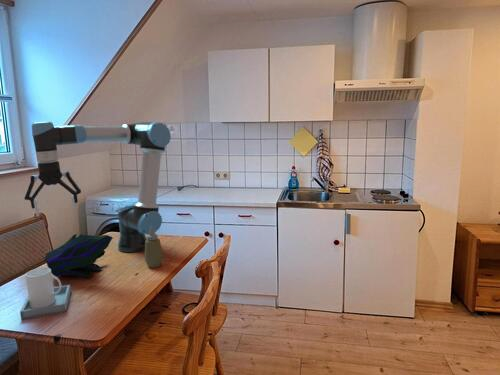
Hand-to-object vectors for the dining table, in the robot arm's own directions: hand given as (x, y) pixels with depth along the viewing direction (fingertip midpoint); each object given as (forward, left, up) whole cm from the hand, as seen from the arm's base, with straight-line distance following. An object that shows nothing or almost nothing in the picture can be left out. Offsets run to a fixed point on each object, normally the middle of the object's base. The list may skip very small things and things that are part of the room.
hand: (56, 213), depth 152 cm
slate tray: (+3, +22, -29) cm, 36 cm away
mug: (+4, +22, -28) cm, 36 cm away
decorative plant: (-8, -3, -29) cm, 30 cm away
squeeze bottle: (-37, 0, -29) cm, 47 cm away
